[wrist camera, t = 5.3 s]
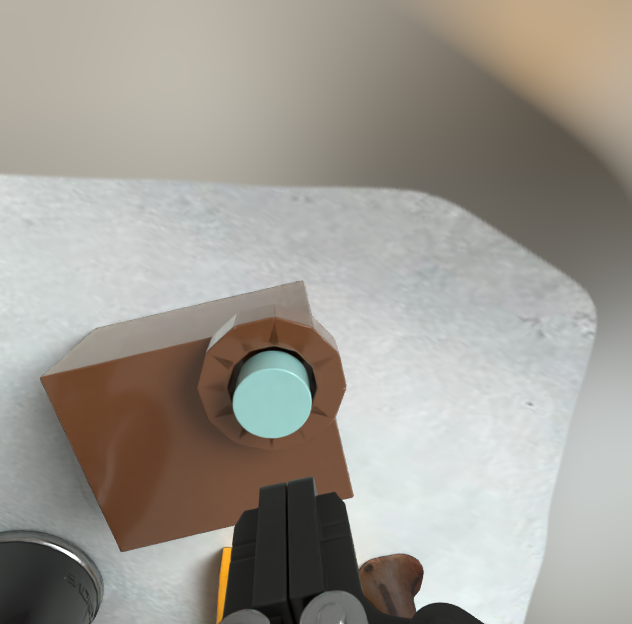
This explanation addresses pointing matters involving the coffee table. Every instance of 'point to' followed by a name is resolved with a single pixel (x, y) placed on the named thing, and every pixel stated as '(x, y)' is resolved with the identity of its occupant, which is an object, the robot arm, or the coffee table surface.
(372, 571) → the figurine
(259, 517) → the robot arm
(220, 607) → the glossy orange square box
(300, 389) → the push button
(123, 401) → the dispenser
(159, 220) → the coffee table surface
